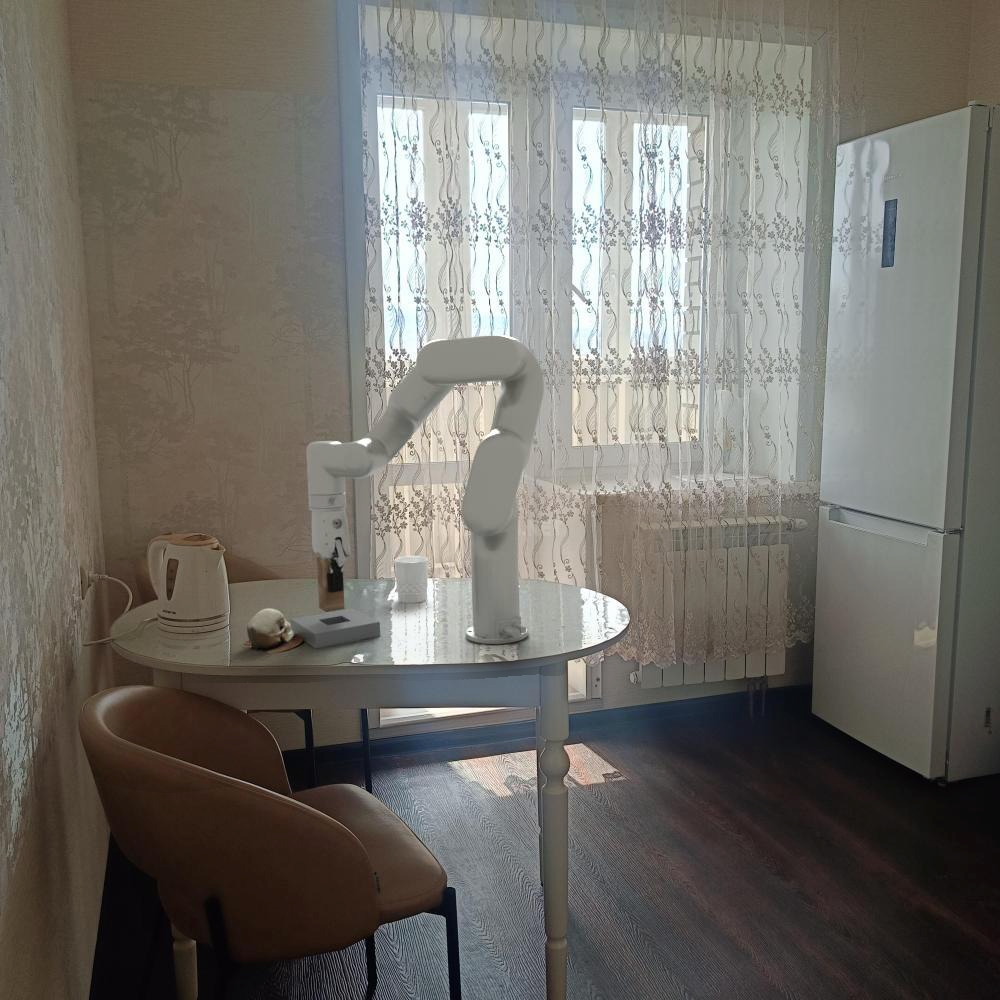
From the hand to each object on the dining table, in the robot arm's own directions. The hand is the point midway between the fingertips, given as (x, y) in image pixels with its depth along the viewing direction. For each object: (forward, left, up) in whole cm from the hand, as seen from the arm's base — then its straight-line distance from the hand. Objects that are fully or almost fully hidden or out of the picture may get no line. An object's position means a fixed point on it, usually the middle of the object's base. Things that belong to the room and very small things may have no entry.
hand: (331, 588), depth 188 cm
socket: (0, 0, -10) cm, 10 cm away
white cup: (+16, -26, -10) cm, 32 cm away
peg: (0, 0, -4) cm, 4 cm away
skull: (+1, +13, -10) cm, 16 cm away
